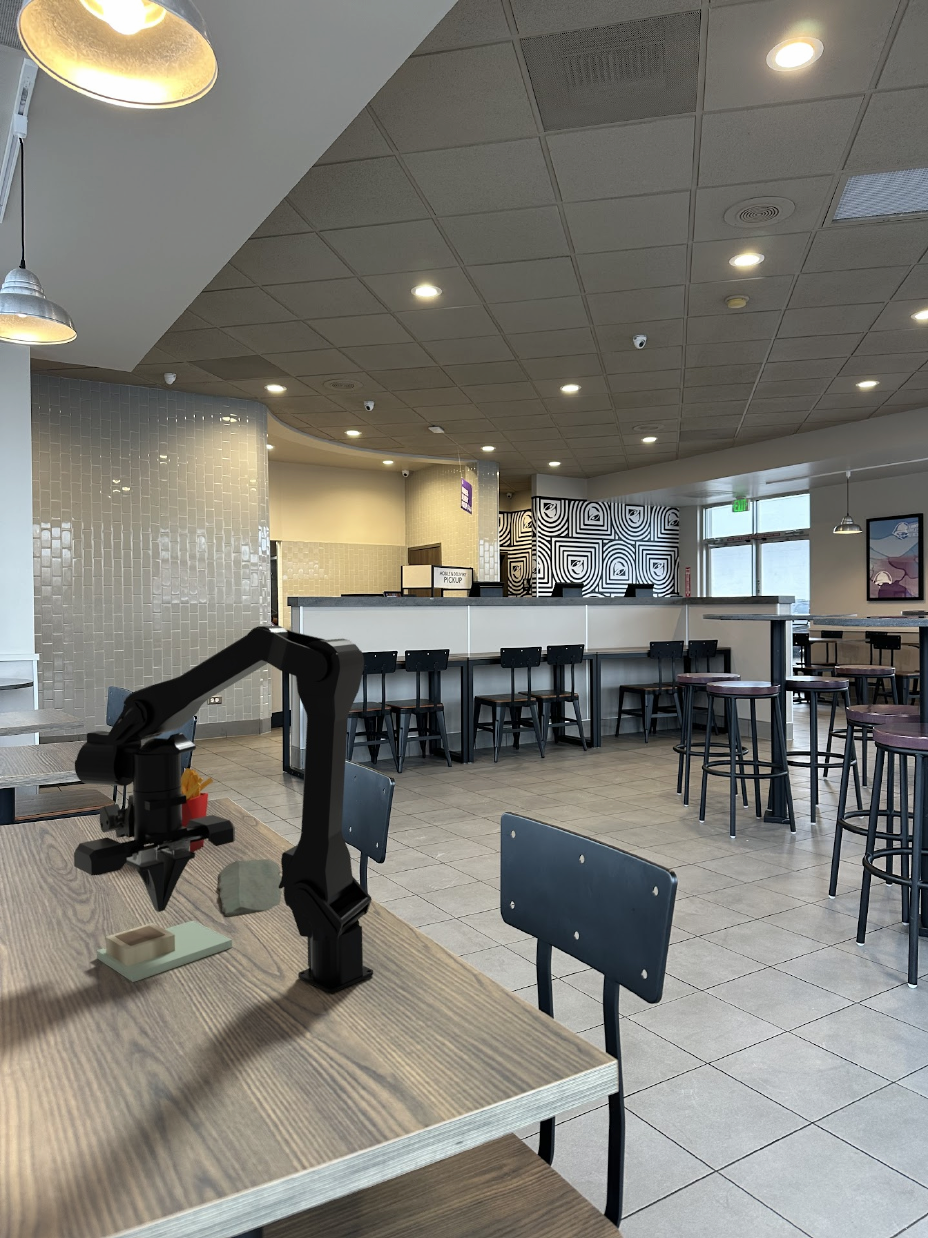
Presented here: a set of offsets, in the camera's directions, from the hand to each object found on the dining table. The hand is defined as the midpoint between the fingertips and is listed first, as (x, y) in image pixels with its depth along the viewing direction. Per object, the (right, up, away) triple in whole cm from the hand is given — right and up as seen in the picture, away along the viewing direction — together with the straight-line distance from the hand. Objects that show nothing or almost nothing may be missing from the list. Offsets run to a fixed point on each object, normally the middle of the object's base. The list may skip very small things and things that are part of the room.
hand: (159, 910), depth 103 cm
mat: (+1, -6, 0) cm, 6 cm away
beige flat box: (0, -4, +1) cm, 4 cm away
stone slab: (+5, -6, +24) cm, 26 cm away
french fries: (-12, -6, +46) cm, 48 cm away
